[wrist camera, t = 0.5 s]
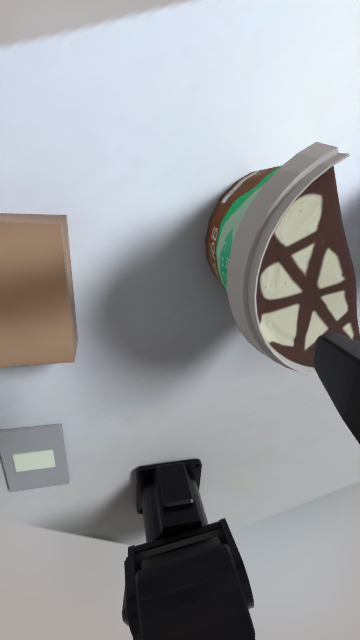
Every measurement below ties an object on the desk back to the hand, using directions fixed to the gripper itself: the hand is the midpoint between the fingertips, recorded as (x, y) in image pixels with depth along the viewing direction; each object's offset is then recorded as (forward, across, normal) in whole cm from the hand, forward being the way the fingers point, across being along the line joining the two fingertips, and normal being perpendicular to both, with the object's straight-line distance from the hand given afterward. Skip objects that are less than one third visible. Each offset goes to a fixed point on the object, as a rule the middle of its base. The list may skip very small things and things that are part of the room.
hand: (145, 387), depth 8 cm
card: (+14, +11, +19) cm, 26 cm away
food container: (+16, -8, +4) cm, 18 cm away
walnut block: (+16, +8, +3) cm, 18 cm away
